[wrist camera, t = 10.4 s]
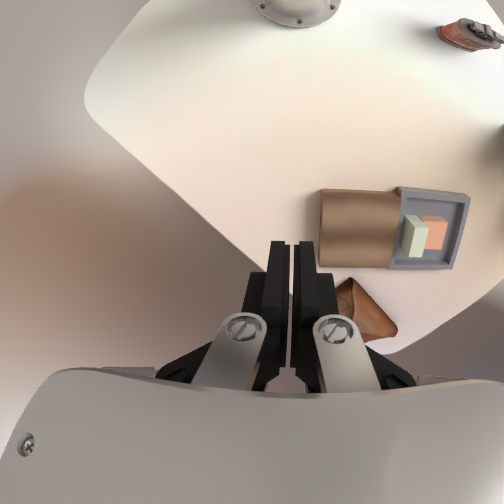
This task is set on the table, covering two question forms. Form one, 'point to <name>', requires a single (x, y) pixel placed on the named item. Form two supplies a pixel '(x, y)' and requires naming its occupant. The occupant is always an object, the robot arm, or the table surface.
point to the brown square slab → (357, 228)
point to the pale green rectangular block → (413, 235)
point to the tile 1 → (434, 231)
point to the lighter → (470, 35)
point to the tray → (431, 204)
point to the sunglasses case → (363, 312)
